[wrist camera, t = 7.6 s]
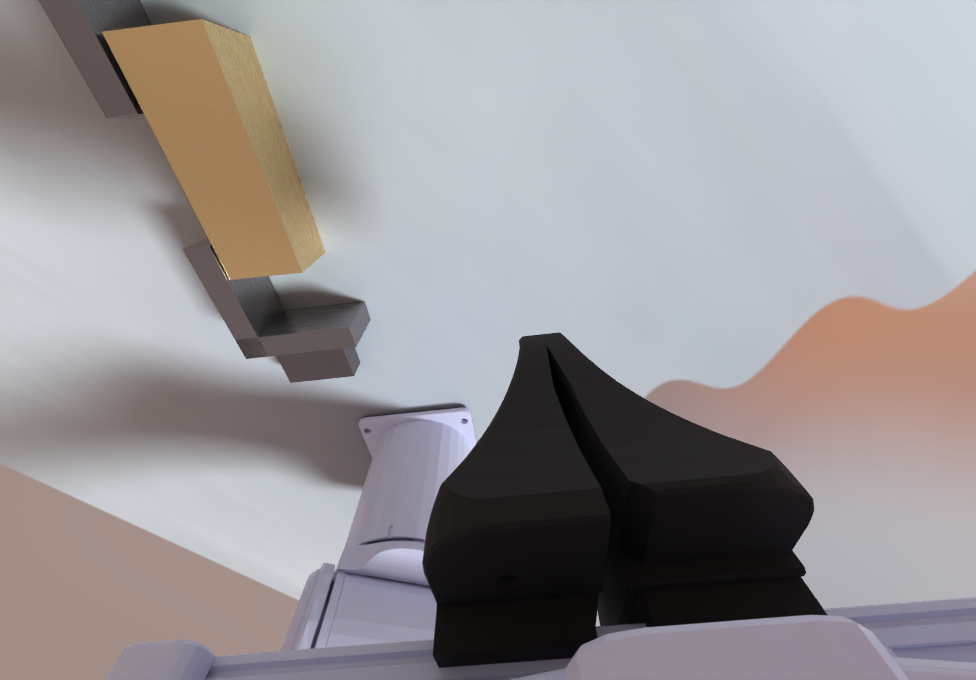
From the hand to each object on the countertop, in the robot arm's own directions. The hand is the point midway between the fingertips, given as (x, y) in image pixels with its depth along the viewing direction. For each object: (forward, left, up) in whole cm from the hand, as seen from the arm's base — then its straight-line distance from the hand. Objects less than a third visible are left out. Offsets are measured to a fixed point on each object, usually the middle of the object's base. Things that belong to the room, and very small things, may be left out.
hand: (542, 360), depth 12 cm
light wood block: (+6, +12, -10) cm, 17 cm away
